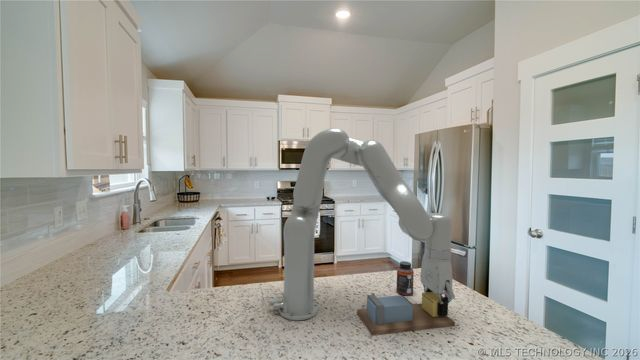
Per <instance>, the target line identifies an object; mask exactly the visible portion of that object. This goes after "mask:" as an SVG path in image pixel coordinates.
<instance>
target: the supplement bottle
mask: <svg viewBox="0 0 640 360" xmlns="http://www.w3.org/2000/svg"><path fill="white" fill-rule="evenodd" d="M414 274H415V273H414V269H413V268H412V263H411V262H409V261H406V260H405V261H403V260H402V261H400V262H399V267H397V269H396V292H397V293H398V294H399V295H403V296H411V295H413V294H414Z"/></svg>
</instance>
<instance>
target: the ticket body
mask: <svg viewBox="0 0 640 360" xmlns="http://www.w3.org/2000/svg"><path fill="white" fill-rule="evenodd" d="M413 304H414V303H412V302H411V301H410V300H409V299H408V298H407V297H405V295H402V294H399V295H391V296H390V295H389V296H379V297H377V296H376V295H375V294H367V298H366V309H367V315H368V316H369V318H370V319H371V320H372V322H373V323H374V324H376V325H377V326H380V325H384V323H392V322H401V321H411V320H412V318H413Z"/></svg>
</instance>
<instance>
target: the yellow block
mask: <svg viewBox="0 0 640 360" xmlns="http://www.w3.org/2000/svg"><path fill="white" fill-rule="evenodd" d="M444 297H445V296H443V295H442V298H444ZM438 302H439V298H438V294H436V293H434V292H422V293H421V303H422V308H423V309H424V310H425V311H426V312H428V313H429V314H430V315H431V316H432V317H436V316H438V315H437V310H438Z"/></svg>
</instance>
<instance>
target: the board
mask: <svg viewBox="0 0 640 360" xmlns="http://www.w3.org/2000/svg"><path fill="white" fill-rule="evenodd" d="M412 304H413V318H412V320H411V321H401V322H392V323H384V325H380V326H377V325H376V324H374V323H373V322H372V320H371V319H370V318H369V316H368V315H367V308H360V309H359V308H358V309H356V314H357V315H358V317H359V319H361V322H363V324H364V325H365V327H366V329H367V330H368V331H369V333H370V334H371V336H381V335H388V334H389V335H390V334H396V333H405V332H412V331H413V332H414V331H421V330H429V329H439V328H447V327H454V326H455V325H456V322H455V321H454V320H453V319H452V318H451V317H449V315H447V316H436V317H432V316H431V315H430V314H429V313H428V312H426V311H425V310H424V309H423V308H422V302H420V303H412Z"/></svg>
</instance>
